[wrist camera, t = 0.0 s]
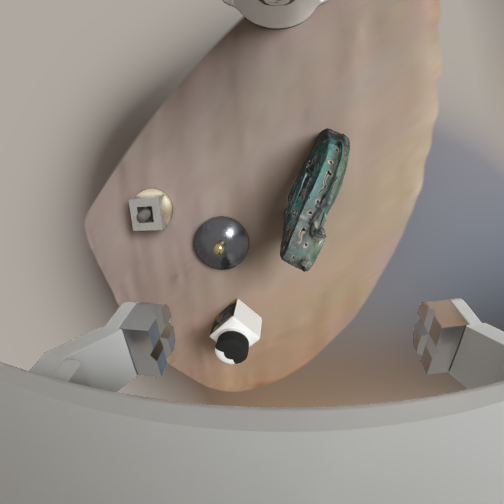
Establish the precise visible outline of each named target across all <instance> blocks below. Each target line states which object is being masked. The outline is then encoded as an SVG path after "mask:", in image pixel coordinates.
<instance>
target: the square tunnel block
mask: <svg viewBox="0 0 504 504" xmlns="http://www.w3.org/2000/svg"><path fill="white" fill-rule="evenodd" d="M148 206H152V212H153V218H148V219H147V220H146V221H145V222H143V223H140V222H138V221H137V218H136V216H137V214H139V213H140V212H141V211H143V210H144V207H148ZM129 207H130V213H131V220H132V226H133V231H147V230H163V229H164V228H165V227H166V226H167V225H168V221H167V214H166V205H165V197H164V194H154V195H140V196H134V197H132V198H131V199H129Z"/></svg>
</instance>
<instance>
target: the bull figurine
mask: <svg viewBox="0 0 504 504" xmlns="http://www.w3.org/2000/svg"><path fill="white" fill-rule="evenodd" d="M349 144H350V143H349V138H348V137H347V136H346V135H344V134H340V133H338V132H335V131H333V130H331V129H325V130H323V131H322V132H321V134H320V136H319V138H318V140H317V142H316V144H315V146H314V148H313V150H312V152H311V153H310V155H309V157H308V159H307V161H306V162H305V163H304V164H303V166H302V168H301V170H300V172H299V175H298V177H297V179H296V181H295V183H294V185H293V187H292V189H291V192H290V194H289V197H288V207H287V210H286V211H285V222H284V229H283V230H284V231H283V238H282V242H281V250H280V256H281V259H282V260H283V261H285V262H287V263H289V264H291V265H293V266H294V267H296V268H299V269H301V270H303V271H304V272H305V271H308V270H309V269H310V268H311V267H312V265H313V264H314V262H315V260H316V258H317V256H318V254H319V252H320V250H321V248H322V245H323V243H324V239H325V238H326V235H325V231H324V229H323V226H324V224H325V222H326V215H327V213H328V212H329V210H330V208H331V207H332V205H333V203H334V201H335V199H336V197H337V194H338V192H339V190H340V187H341V185H342V181H343V178H344V174H345V171H346V167H347V161H348V156H349V150H350V145H349Z"/></svg>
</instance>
